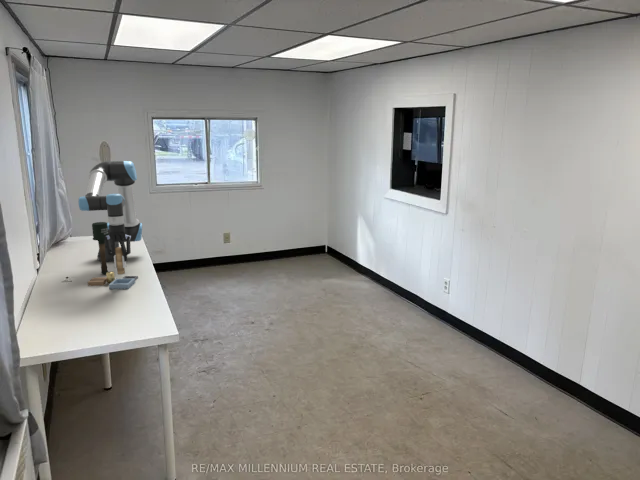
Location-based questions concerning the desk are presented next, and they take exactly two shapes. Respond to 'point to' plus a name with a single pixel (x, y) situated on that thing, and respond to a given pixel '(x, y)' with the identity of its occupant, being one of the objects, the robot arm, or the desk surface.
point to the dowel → (119, 260)
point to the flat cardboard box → (97, 281)
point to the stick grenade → (101, 242)
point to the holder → (130, 277)
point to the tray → (121, 283)
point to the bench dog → (110, 277)
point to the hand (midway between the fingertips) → (120, 267)
